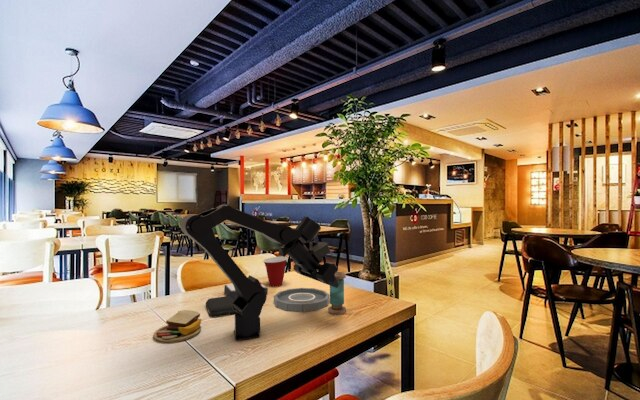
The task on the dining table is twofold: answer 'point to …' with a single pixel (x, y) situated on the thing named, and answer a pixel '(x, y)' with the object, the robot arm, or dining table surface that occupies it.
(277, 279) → the plastic cup
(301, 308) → the round tray
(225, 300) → the carrying case or bag
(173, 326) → the toy sandwich meal
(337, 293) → the bead spool
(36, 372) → the dining table surface
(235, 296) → the calculator
